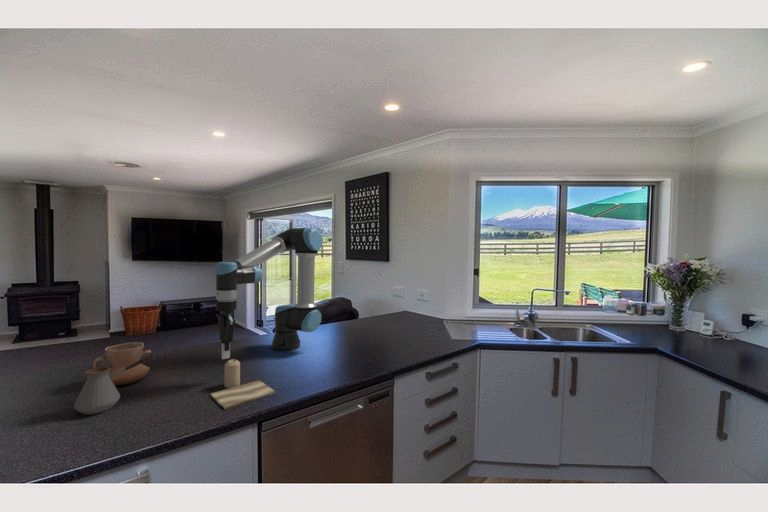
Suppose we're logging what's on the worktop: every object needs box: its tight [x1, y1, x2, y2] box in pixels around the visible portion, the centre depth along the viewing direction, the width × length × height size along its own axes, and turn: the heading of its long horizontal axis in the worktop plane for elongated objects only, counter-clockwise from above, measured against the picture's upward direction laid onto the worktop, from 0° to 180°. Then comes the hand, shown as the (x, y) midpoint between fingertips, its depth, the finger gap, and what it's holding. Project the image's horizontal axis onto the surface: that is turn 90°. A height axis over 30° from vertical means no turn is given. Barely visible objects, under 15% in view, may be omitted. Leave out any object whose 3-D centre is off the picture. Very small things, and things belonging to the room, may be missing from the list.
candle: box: [223, 358, 241, 389], centre depth 127 cm, size 6×6×10 cm
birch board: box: [210, 380, 276, 410], centre depth 120 cm, size 14×18×1 cm
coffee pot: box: [73, 354, 156, 416], centre depth 111 cm, size 21×12×15 cm, turn 131°
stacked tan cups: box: [92, 341, 152, 387], centre depth 129 cm, size 18×14×14 cm
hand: (225, 358), depth 132 cm, fingers closed
